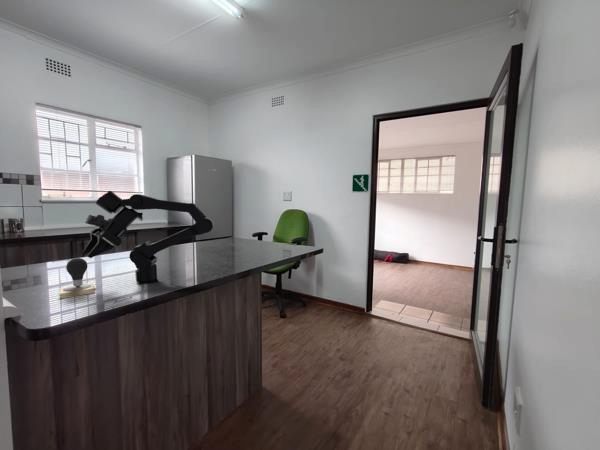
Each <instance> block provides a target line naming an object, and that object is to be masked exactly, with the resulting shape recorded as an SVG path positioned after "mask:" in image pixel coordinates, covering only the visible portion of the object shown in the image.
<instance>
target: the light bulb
mask: <svg viewBox="0 0 600 450" xmlns="http://www.w3.org/2000/svg"><path fill="white" fill-rule="evenodd" d="M65 269H66V271H67V273H68V275H70V277H71V279H72V284H73V285H74V286H76V287H80V286H81V285H82V284H83V279H84V276H85V274H86V271H87V269H88V263H87V261H86V260H85V259H83V258H80V257H75V258H72V259H70V260H69V261H68V262H67V264H66V266H65Z"/></svg>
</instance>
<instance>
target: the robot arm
mask: <svg viewBox="0 0 600 450" xmlns="http://www.w3.org/2000/svg"><path fill="white" fill-rule="evenodd" d="M95 205H97V206H98V207H99V208H101V209H102V210H104V211H105V212H107V214H110V215H112V214H115V216H114V215H113V217H112V218H111V217H110V218H108V219H105V216H104V215H102V214H100V213H99V214H97V215H92V214H88V216H87V218H86V221H85V224H87V225H91V226H96V227H94V228H93V229H92V230H90V234H89V235H90V240H89V241H88V243H87V245H86V246H85V247H84V250H83V251H82V254H83V255H87V254H88V255H87V257H88V258H89V259H92V258H94V257H97V256H99V255H101V254H103V253H104V252H108V251H110V250H112V249H115V248H118V247H119V246H120V245H121V244H122V243H123V242H122V238H121V237H119V236H121V234H122V233H123V232H126V231H127V230H128V228H129V227H130V225H131V224H133V223H134V222H135V221H136V220H137V219H138V220H139V221H141V222H142V221H144V220H143V218H144V217H143V214H144V213H143V212H138V211H139V210H140V211H141V210H164V211H171V212H179V213H180V212H181V213H182V212H183V213H188V214H189V216H190V217H191V218H192V219H193V221H194V222H195V223H194V224H192V225H191V226H189V227H188V228H185V229H183V230H181V231H178V232H176V233H174V234H171V235H169V236H167V237H166V238H163V239H160V240H158V241H156V242H153V243H151V241H150V240H148V241H146V242H145V241H144V243H142V244H137V245H136V246H135V247H133V249H132V250H131V251H130V253H129V260H130V261H131V262H132V263H133V264H134V266H135V267H136V270H135V272H134V275H135V282H137V284H138V285H143V284H151V283H155V282H159V279H158V271H157V270H158V269H157V264H156V263H157V261H158V257H157V256H156V255H157V253H159V252H161V251H163V250H166V249H168V248H171V247H172V246H175V245H176V244H179V243H181V242H183V241H185V240H187V239H190V238H192V237H196V236H200V235H201V236H202V235H204V234H207V233H209V232H211V231H212V230H213V228H214V226H215V224H214V221H213V220H212V218H210V217H207V216H206V215H205V214H204V213H203V212H202V210H201V209H200V208H199V207H198V205H197V204H196V203H193V202H189V203H188V202H181V201H172V200H165V199H160V198H159V199H158V198H155V197H152V196H149V195H145V194H139V193H137V194H133V195H131V196H130V197H129V198H124V199H123V198H121V197H120V196H119V195H117V193H115V192H113V190H108V191H107V192H106V193H104V194H102V195H101V196H100V197H99V198H97V200H96V201H95ZM129 207H130V208H129Z"/></svg>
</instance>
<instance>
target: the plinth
mask: <svg viewBox="0 0 600 450" xmlns="http://www.w3.org/2000/svg"><path fill="white" fill-rule="evenodd" d="M95 293H96V288H95V284H94V282H86V283H82V285H81V286H80V287H76V286H74V285H66V286H61V287H60V289H59V299H65V298H71V297H77V296H82V295H89V294H95Z"/></svg>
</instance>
